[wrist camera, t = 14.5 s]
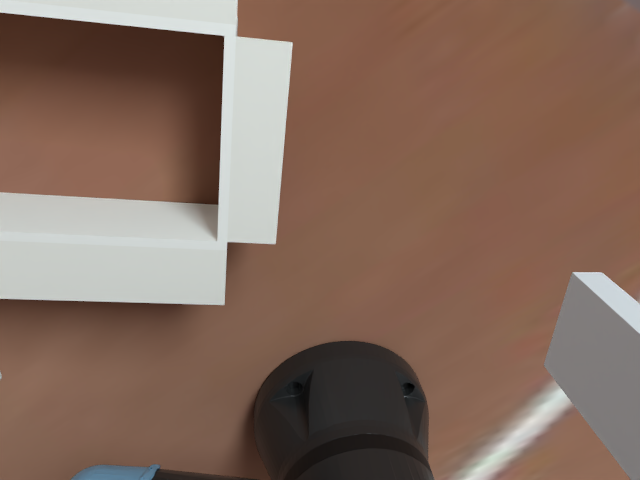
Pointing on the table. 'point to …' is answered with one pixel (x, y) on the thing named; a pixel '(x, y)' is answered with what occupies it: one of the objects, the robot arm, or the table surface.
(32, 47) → the table surface
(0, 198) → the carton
